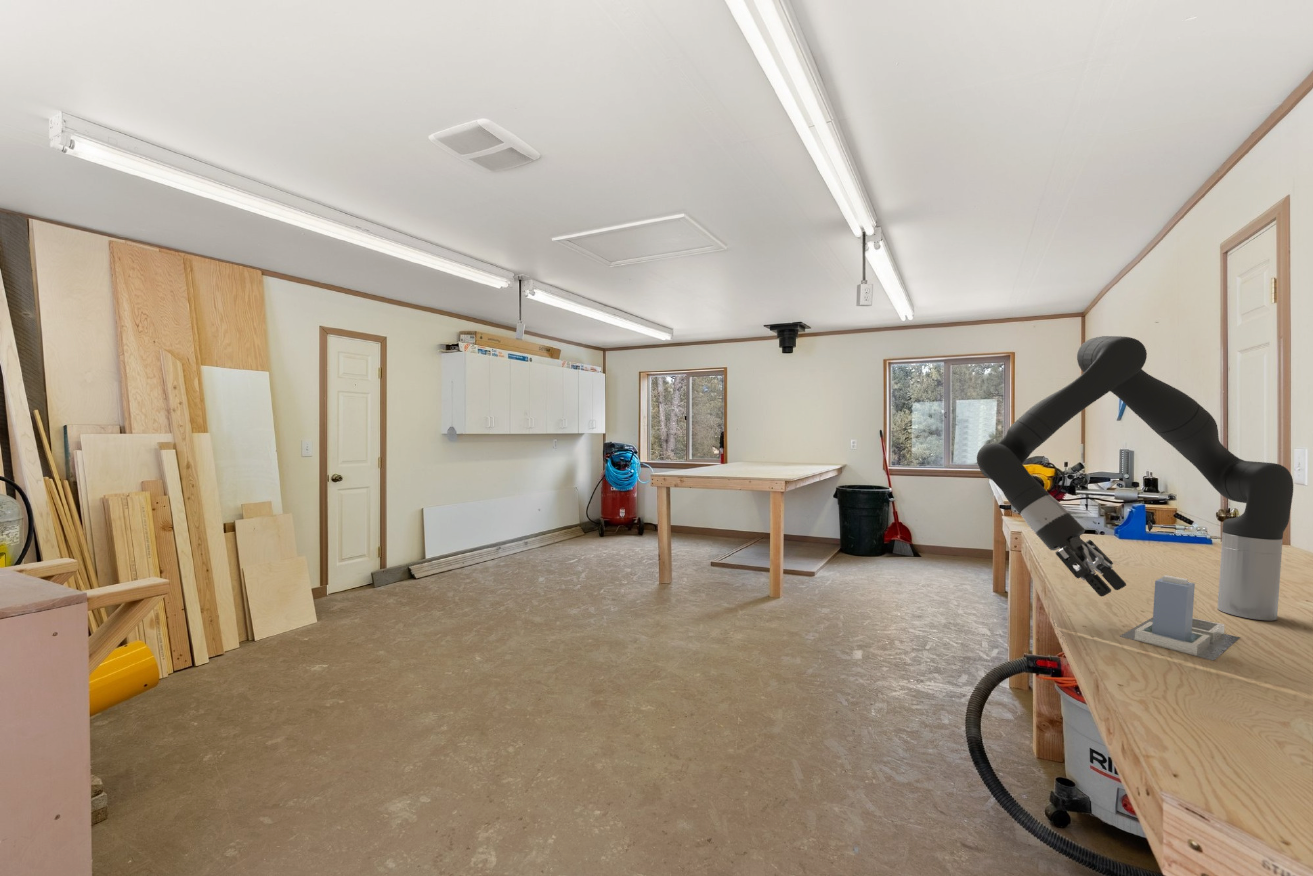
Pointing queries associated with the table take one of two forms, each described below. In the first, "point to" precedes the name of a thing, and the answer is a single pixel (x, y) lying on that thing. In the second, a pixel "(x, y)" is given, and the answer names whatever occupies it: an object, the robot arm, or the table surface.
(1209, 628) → the panel
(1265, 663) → the table surface
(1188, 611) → the plug
